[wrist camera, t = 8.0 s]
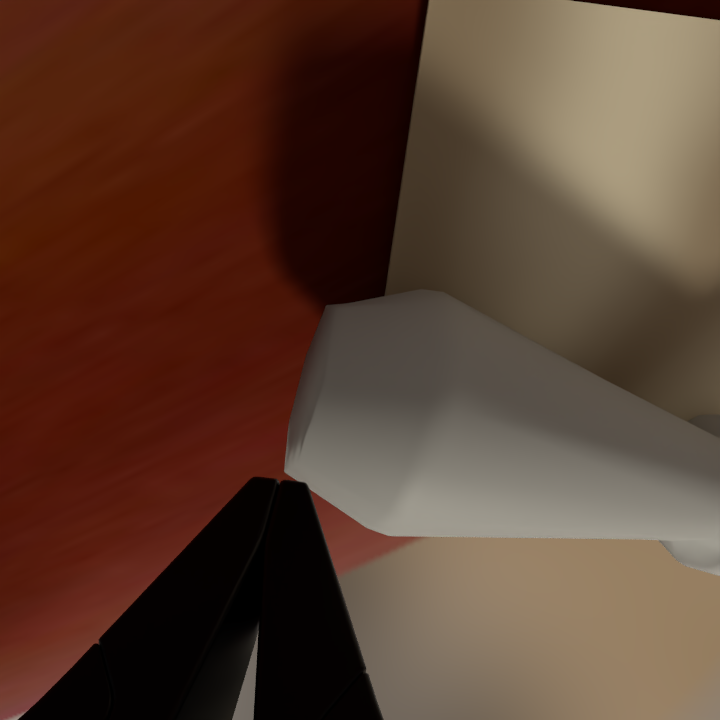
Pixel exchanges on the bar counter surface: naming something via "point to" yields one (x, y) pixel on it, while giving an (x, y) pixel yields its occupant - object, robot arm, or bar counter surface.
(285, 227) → the bar counter surface
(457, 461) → the salt shaker
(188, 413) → the bar counter surface
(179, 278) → the bar counter surface
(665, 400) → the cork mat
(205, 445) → the bar counter surface
